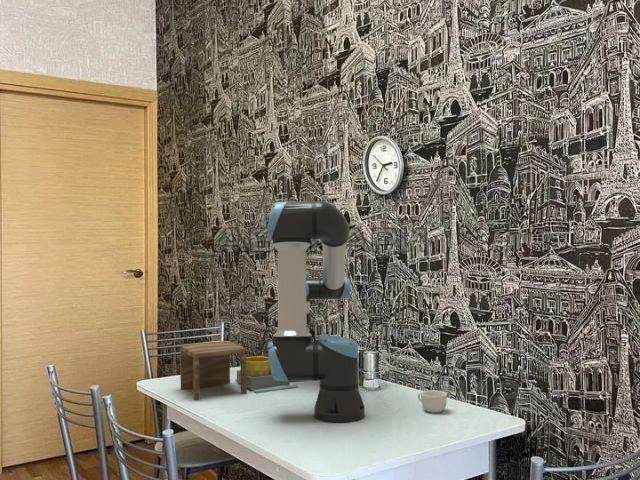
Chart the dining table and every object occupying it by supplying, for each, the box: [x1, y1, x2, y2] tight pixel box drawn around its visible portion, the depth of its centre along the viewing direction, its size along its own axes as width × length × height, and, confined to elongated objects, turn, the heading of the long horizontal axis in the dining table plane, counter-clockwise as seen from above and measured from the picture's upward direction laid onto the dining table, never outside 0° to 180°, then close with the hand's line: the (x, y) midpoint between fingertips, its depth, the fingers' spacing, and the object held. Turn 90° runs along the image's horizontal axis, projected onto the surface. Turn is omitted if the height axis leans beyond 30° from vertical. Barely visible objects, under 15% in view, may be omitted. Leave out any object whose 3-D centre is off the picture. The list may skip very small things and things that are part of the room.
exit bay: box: [234, 378, 299, 394], centre depth 229 cm, size 21×16×1 cm
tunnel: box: [179, 340, 248, 401], centre depth 219 cm, size 18×18×16 cm
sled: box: [236, 369, 291, 391], centre depth 230 cm, size 15×25×11 cm, turn 117°
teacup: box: [417, 389, 448, 414], centre depth 192 cm, size 10×8×5 cm
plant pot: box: [246, 355, 270, 377], centre depth 226 cm, size 10×10×10 cm
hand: (300, 369), depth 235 cm, fingers open, 13 cm apart
